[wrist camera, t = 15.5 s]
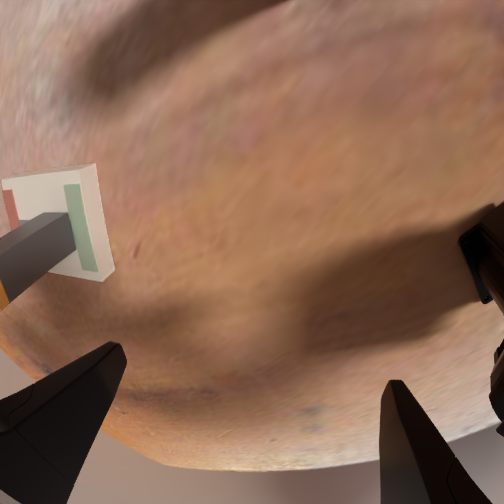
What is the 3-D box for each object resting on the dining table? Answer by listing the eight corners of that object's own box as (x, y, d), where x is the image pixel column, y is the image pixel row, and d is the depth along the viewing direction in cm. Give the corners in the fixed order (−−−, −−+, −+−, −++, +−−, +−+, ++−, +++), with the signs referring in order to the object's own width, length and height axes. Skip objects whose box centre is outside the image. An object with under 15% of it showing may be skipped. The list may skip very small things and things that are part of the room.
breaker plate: (95, 163, 20) (76, 170, 18) (115, 269, 24) (101, 283, 22) (16, 173, 22) (-1, 180, 20) (36, 258, 26) (22, 268, 24)
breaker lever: (67, 212, 20) (-42, 286, 10) (76, 249, 21) (-21, 330, 12) (43, 212, 20) (-58, 278, 11) (52, 246, 22) (-39, 318, 12)
